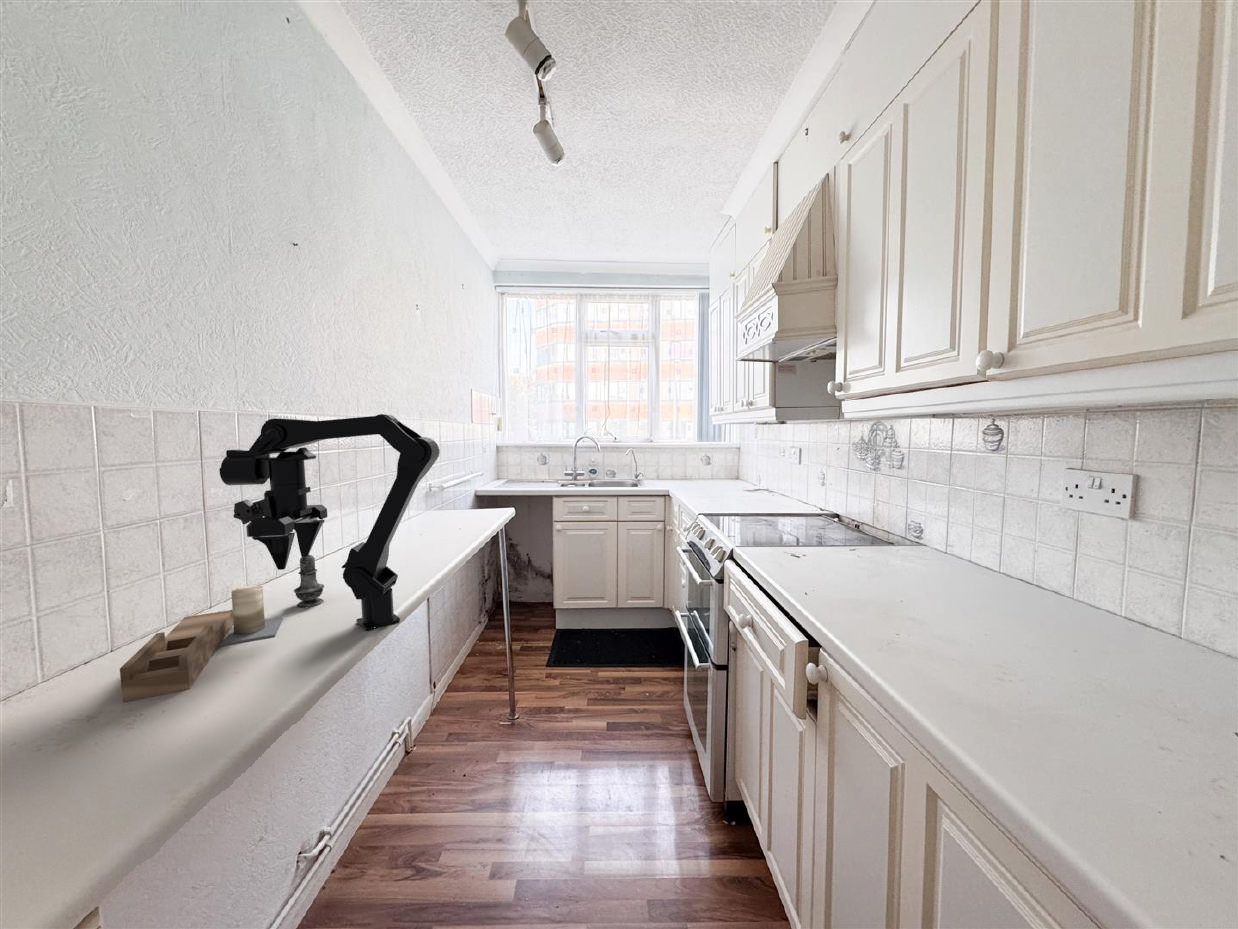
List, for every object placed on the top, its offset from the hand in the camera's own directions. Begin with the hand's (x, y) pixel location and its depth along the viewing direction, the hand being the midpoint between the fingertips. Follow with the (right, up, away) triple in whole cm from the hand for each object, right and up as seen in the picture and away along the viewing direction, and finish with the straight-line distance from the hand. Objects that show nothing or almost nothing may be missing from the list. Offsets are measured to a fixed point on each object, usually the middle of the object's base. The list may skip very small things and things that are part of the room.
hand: (293, 562), depth 95 cm
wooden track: (-11, -14, -11) cm, 21 cm away
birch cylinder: (-8, -13, -1) cm, 15 cm away
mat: (-7, -13, -1) cm, 15 cm away
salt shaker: (-6, -12, +14) cm, 20 cm away
